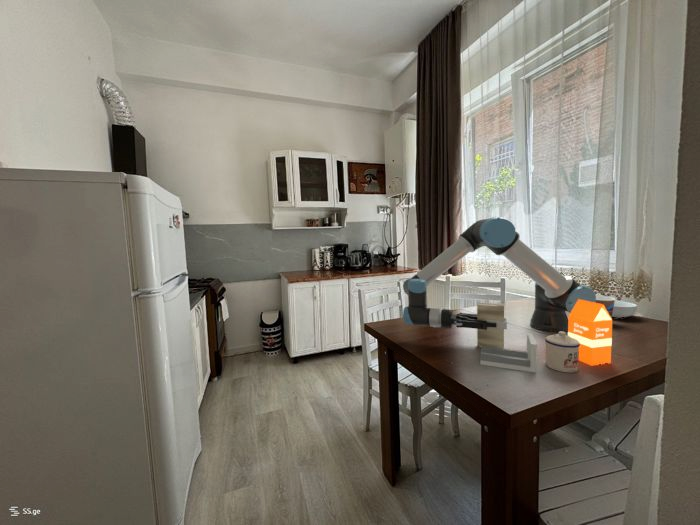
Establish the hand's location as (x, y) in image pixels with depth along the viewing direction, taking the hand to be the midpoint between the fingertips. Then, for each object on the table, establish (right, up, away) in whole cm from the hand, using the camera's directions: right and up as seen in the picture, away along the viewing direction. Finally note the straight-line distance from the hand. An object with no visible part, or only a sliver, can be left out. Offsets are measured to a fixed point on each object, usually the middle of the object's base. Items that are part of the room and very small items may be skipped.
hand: (506, 323), depth 109 cm
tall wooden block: (-4, -9, +3) cm, 11 cm away
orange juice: (+23, -11, -9) cm, 27 cm away
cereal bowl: (+75, -5, +39) cm, 85 cm away
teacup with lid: (+12, -11, -13) cm, 21 cm away
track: (-5, -11, -9) cm, 15 cm away
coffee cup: (+61, -6, +30) cm, 68 cm away
